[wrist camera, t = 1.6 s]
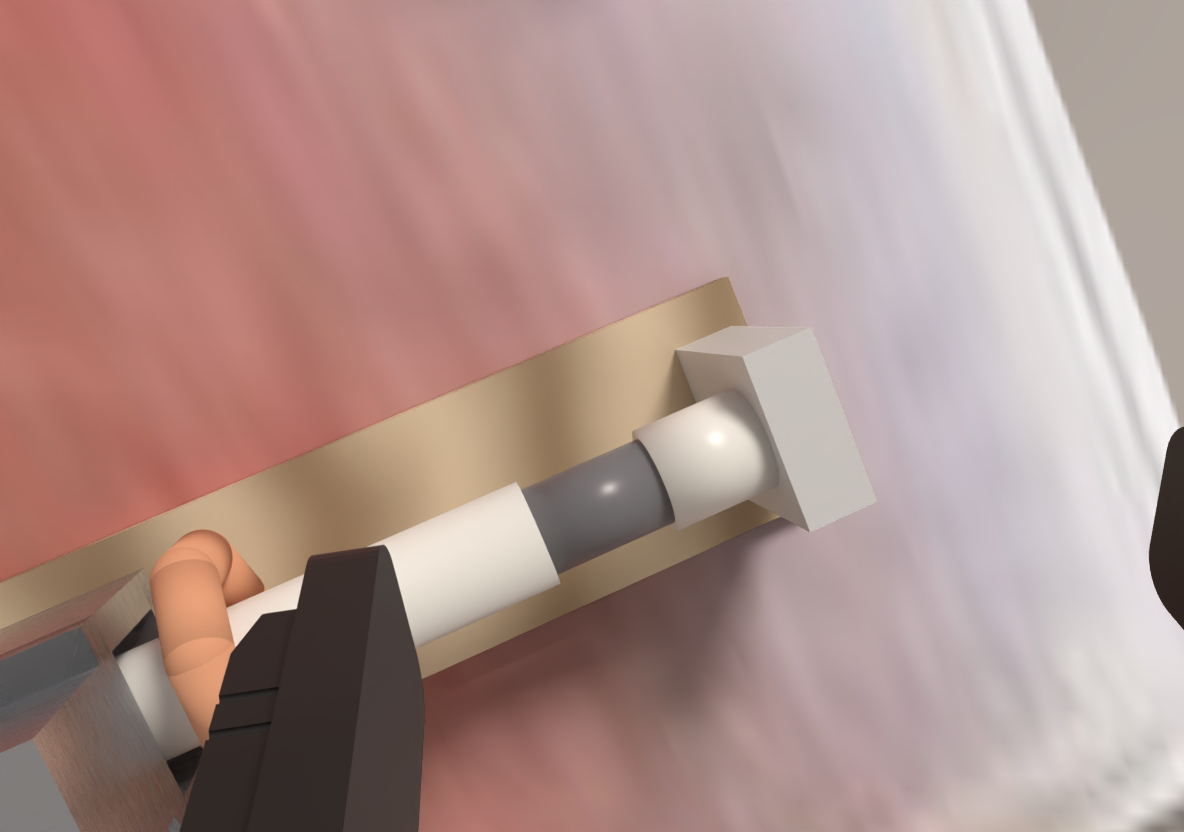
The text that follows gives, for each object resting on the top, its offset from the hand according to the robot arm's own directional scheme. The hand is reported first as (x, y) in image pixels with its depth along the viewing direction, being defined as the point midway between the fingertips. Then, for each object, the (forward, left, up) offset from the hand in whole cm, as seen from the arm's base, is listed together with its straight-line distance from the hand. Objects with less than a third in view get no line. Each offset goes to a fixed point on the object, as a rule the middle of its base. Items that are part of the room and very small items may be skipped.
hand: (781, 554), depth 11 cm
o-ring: (-7, -8, -22) cm, 24 cm away
